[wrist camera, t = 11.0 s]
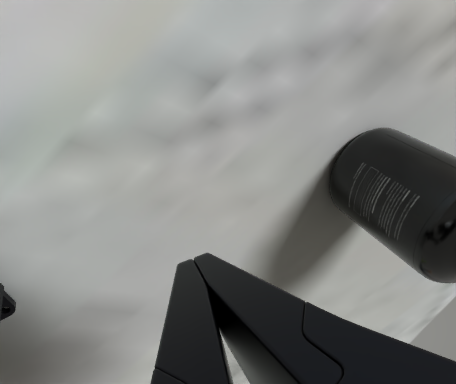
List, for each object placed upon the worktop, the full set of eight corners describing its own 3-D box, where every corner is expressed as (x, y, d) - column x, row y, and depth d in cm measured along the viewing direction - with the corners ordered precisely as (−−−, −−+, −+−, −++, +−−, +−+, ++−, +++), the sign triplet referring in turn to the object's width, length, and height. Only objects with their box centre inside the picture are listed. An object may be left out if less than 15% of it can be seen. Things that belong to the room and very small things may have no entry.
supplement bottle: (352, 223, 30) (496, 343, 21) (309, 180, 26) (462, 305, 17) (415, 158, 29) (594, 252, 20) (380, 103, 25) (585, 188, 16)
